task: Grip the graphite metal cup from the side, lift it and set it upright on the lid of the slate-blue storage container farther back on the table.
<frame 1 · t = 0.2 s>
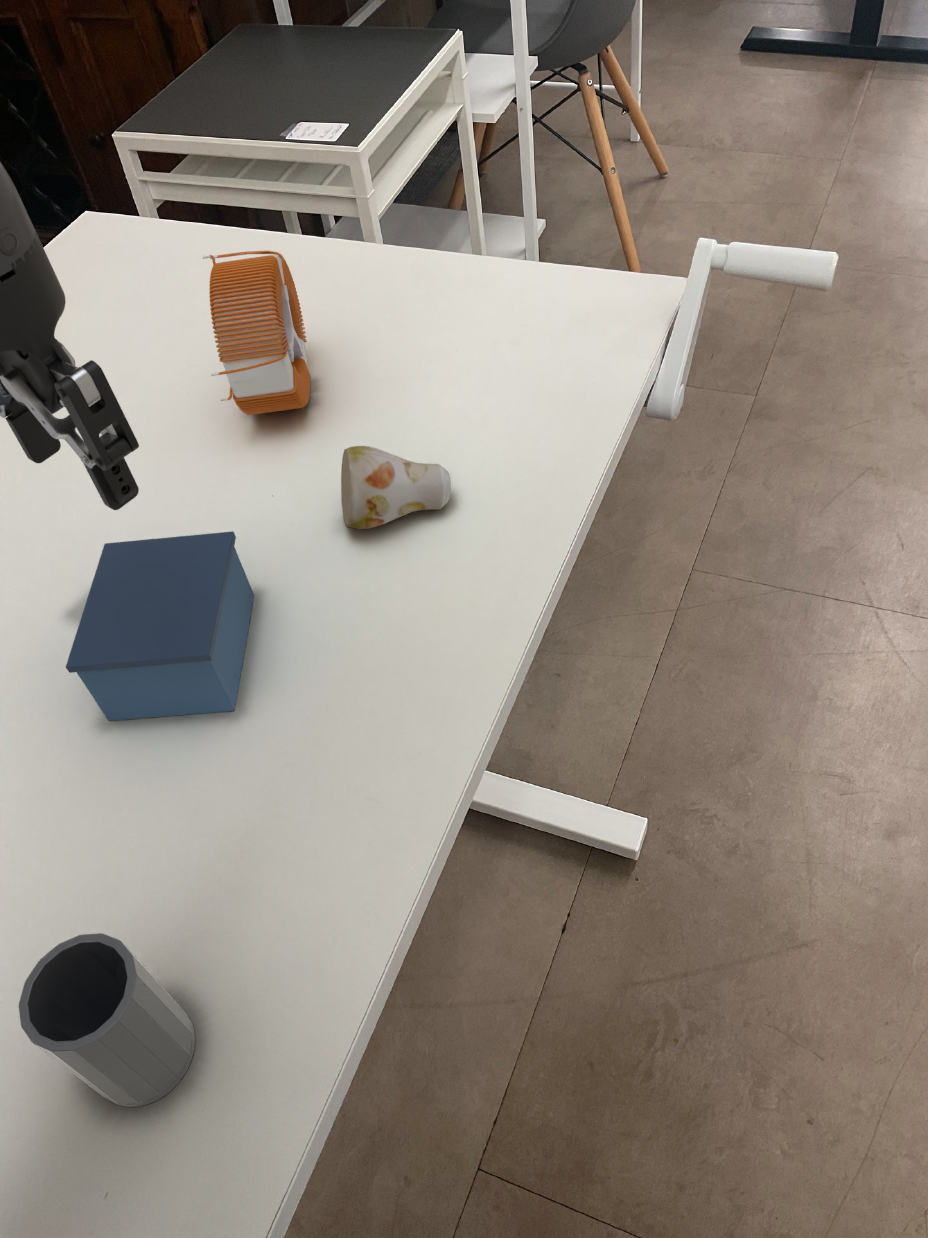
hand: (84, 477, 66), 20 cm above the table, tool pointing down, fingers open, 8 cm apart
container: (184, 655, 81), on the table
patterned salt shaker: (399, 510, 90), on the table
cup: (144, 1052, 61), on the table
coil: (278, 401, 103), on the table
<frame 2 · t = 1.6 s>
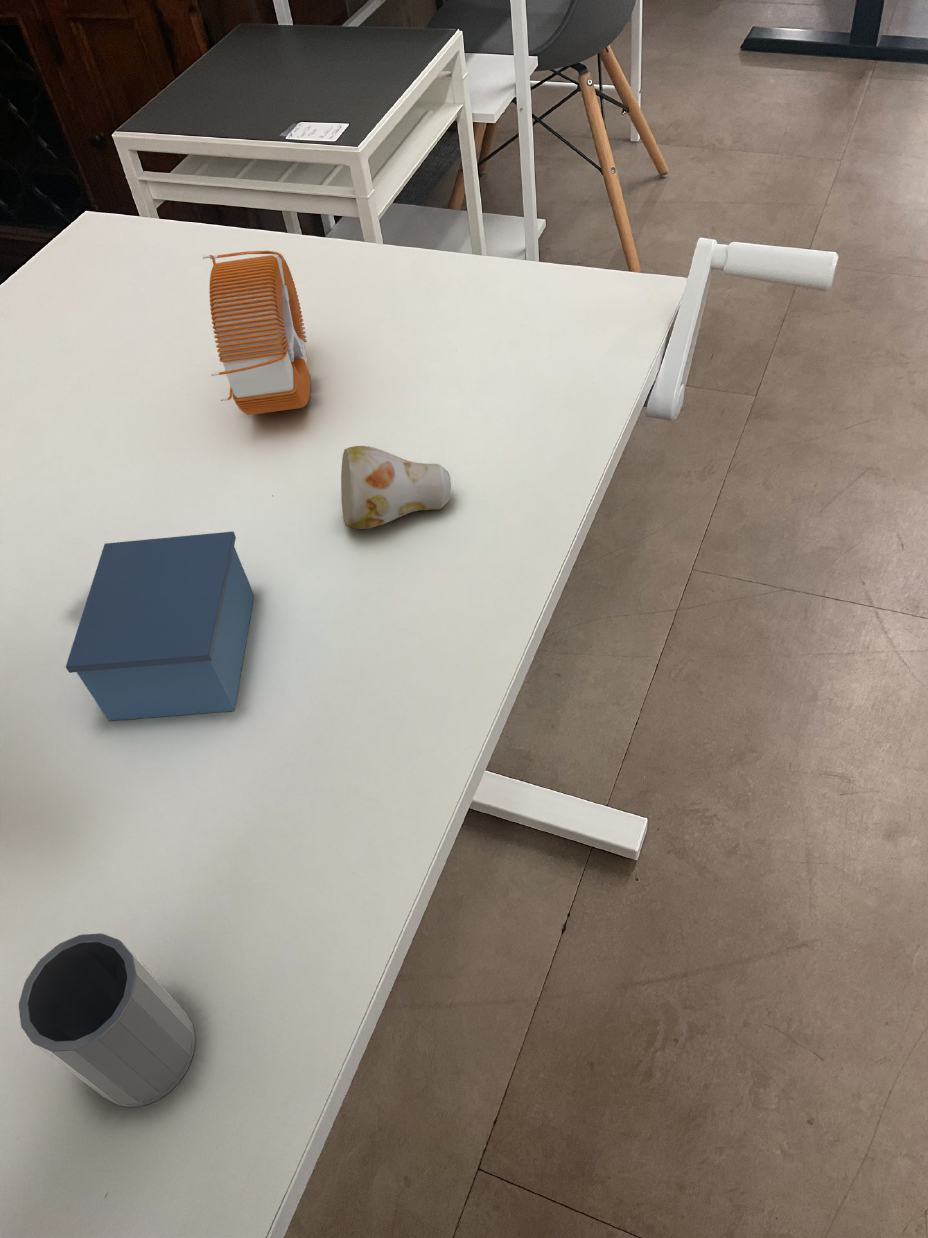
coaster: (144, 598, 87), on the table, touching container
everything else where it was.
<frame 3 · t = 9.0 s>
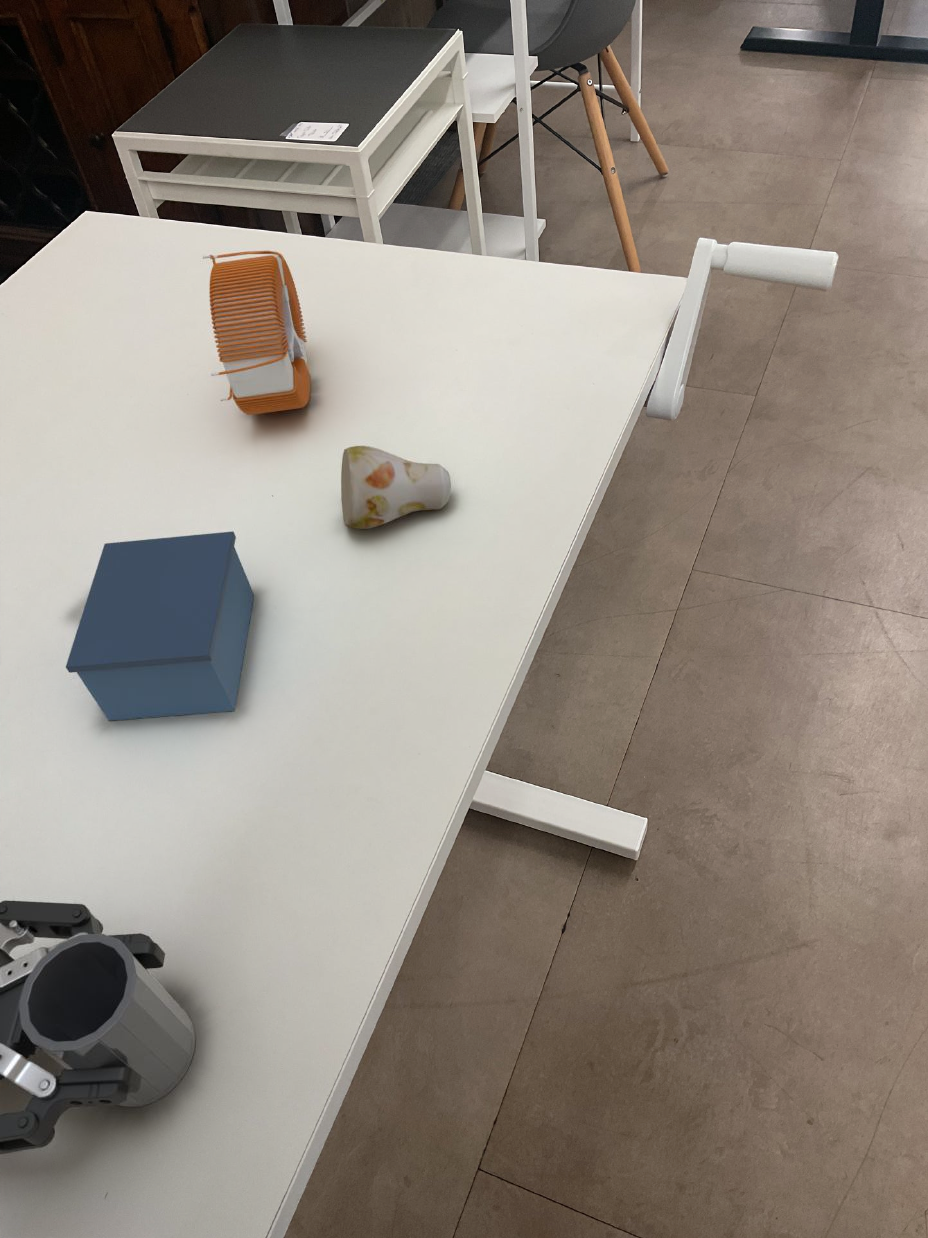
hand: (147, 1014, 56), 6 cm above the table, tool horizontal, fingers closed on cup, 6 cm apart
cup: (144, 1052, 61), on the table, touching gripper
when the fingers open (13 cm above the table, at t = 17.3 s): cup stays where it is, resting on container.
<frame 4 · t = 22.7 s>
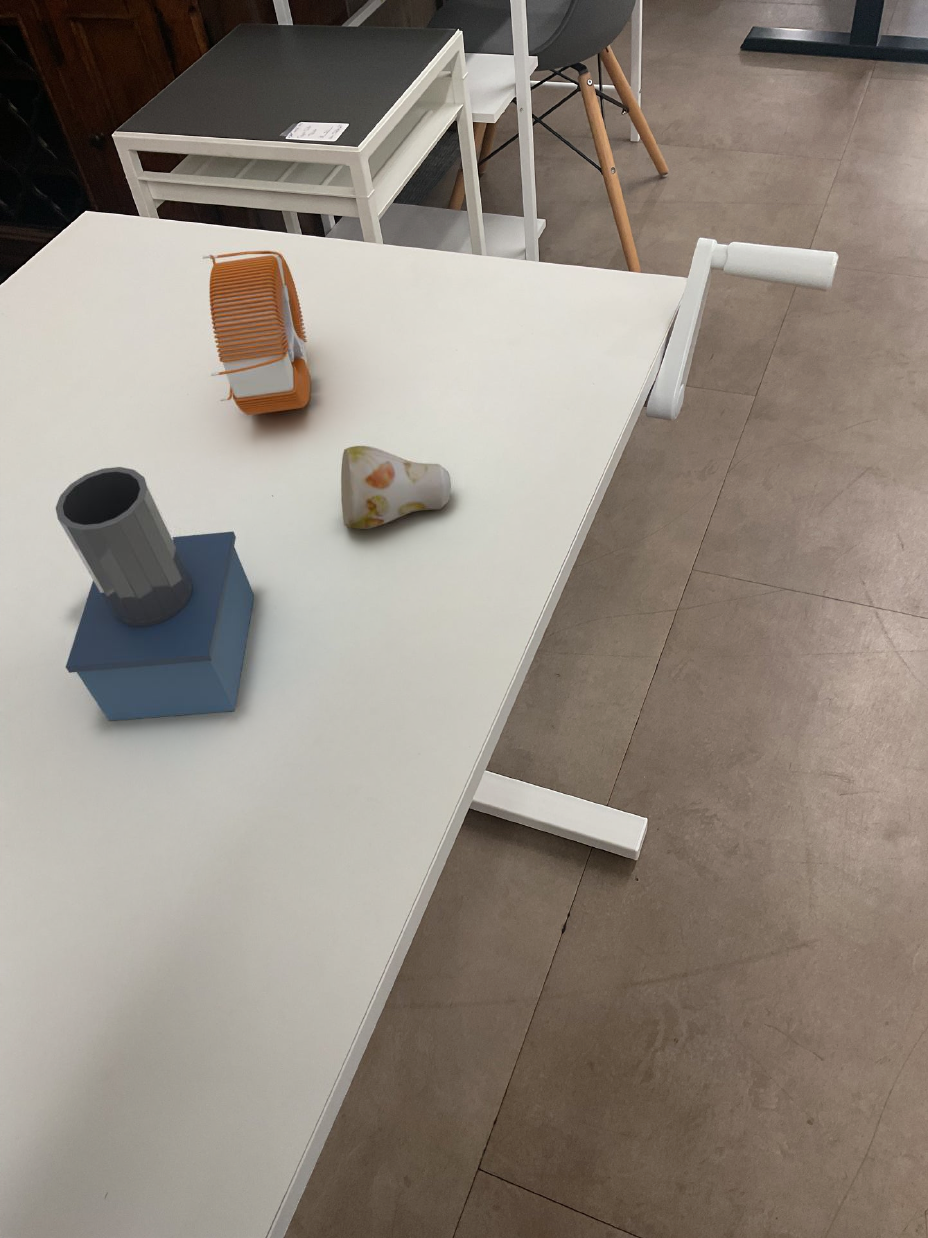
cup: (152, 595, 76), point 7 cm above the table, touching container
everything else where it was.
at the end: cup 0.1 cm off-centre on the container, point 7.2 cm above the container's base; cup tilted 0°; the gripper is holding nothing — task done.
